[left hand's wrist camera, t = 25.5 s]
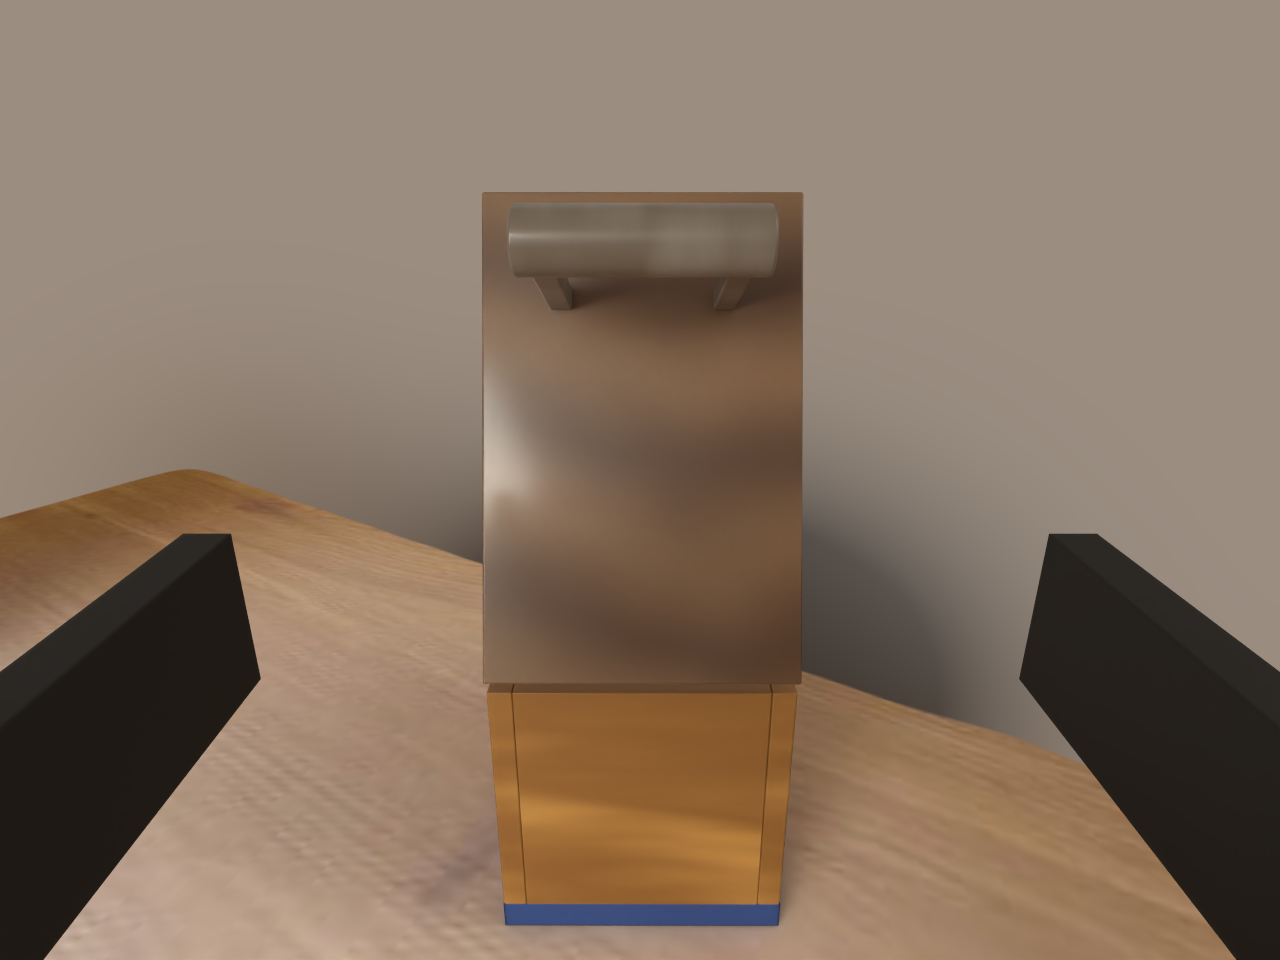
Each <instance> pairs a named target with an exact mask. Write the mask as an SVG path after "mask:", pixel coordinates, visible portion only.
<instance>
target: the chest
mask: <svg viewBox="0 0 1280 960" xmlns="http://www.w3.org/2000/svg"><path fill="white" fill-rule="evenodd" d="M487 701H488V713H489V725H490V737H491V749H492V761H493V773H494V785H495V797H496V809H497V821H498V833H499V845H500V857H501V869H502V881H503V893H504V913H505V925H776V926H778V923H779V912H780V890H781V879H782V867H783V855H784V844H785V832H786V820H787V809H788V797H789V786H790V774H791V762H792V751H793V739H794V727H795V716H796V704H797V691H796V688H795V685H794V684H490V685H489V688H488V691H487Z"/></svg>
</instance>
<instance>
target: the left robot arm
mask: <svg viewBox="0 0 1280 960" xmlns="http://www.w3.org/2000/svg"><path fill="white" fill-rule="evenodd" d="M260 679H261V678H260V673H259V668H258V663H257V658H256V653H255V649H254V644H253V639H252V634H251V629H250V624H249V619H248V615H247V610H246V605H245V600H244V595H243V590H242V585H241V581H240V576H239V571H238V566H237V561H236V556H235V552H234V547H233V542H232V537H231V534H182V535H181V536H180V537H178V538H177V539H176V540H174V541H173V542H172V543H170V544H169V545H168V546H166V547H165V548H164V549H162V550H161V551H160V552H158V553H157V554H156V555H154V556H153V557H152V558H150V559H149V560H148V561H146V562H145V563H144V564H142V565H141V566H140V567H138V568H137V569H136V570H135V571H133V572H132V573H131V574H129V575H128V576H127V577H125V578H124V579H123V580H121V581H120V582H119V583H117V584H116V585H115V586H113V587H112V588H111V589H109V590H108V591H107V592H105V593H104V594H103V595H101V596H100V597H99V598H97V599H96V600H95V601H93V602H92V603H91V604H89V605H88V606H87V607H86V608H84V609H83V610H82V611H80V612H79V613H78V614H76V615H75V616H74V617H72V618H71V619H70V620H68V621H67V622H66V623H64V624H63V625H62V626H60V627H59V628H58V629H56V630H55V631H54V632H52V633H51V634H50V635H48V636H47V637H46V638H44V639H43V640H42V641H41V642H39V643H38V644H37V645H35V646H34V647H33V648H31V649H30V650H29V651H27V652H26V653H25V654H23V655H22V656H21V657H19V658H18V659H17V660H15V661H14V662H13V663H11V664H10V665H9V666H7V667H6V668H5V669H3V670H2V671H1V672H0V960H44V958H45V957H46V956H47V955H48V953H49V952H50V951H51V949H52V948H53V947H54V945H55V944H56V943H57V942H58V940H59V939H60V938H61V936H62V935H63V934H64V933H65V931H66V930H67V929H68V927H69V926H70V925H71V924H72V922H73V921H74V920H75V918H76V917H77V916H78V914H79V913H80V912H81V911H82V909H83V908H84V907H85V905H86V904H87V903H88V902H89V900H90V899H91V898H92V896H93V895H94V894H95V892H96V891H97V890H98V889H99V887H100V886H101V885H102V883H103V882H104V881H105V880H106V878H107V877H108V876H109V874H110V873H111V872H112V871H113V869H114V868H115V867H116V865H117V864H118V863H119V861H120V860H121V859H122V858H123V856H124V855H125V854H126V852H127V851H128V850H129V849H130V847H131V846H132V845H133V843H134V842H135V841H136V840H137V838H138V837H139V836H140V834H141V833H142V832H143V830H144V829H145V828H146V827H147V825H148V824H149V823H150V821H151V820H152V819H153V818H154V816H155V815H156V814H157V812H158V811H159V810H160V808H161V807H162V806H163V805H164V803H165V802H166V801H167V799H168V798H169V797H170V796H171V794H172V793H173V792H174V790H175V789H176V788H177V787H178V785H179V784H180V783H181V781H182V780H183V779H184V777H185V776H186V775H187V774H188V772H189V771H190V770H191V768H192V767H193V766H194V765H195V763H196V762H197V761H198V759H199V758H200V757H201V755H202V754H203V753H204V752H205V750H206V749H207V748H208V746H209V745H210V744H211V743H212V741H213V740H214V739H215V737H216V736H217V735H218V734H219V732H220V731H221V730H222V728H223V727H224V726H225V724H226V723H227V722H228V721H229V719H230V718H231V717H232V715H233V714H234V713H235V712H236V710H237V709H238V708H239V706H240V705H241V704H242V703H243V701H244V700H245V699H246V697H247V696H248V695H249V693H250V692H251V691H252V690H253V688H254V687H255V686H256V684H257V683H258V682H259V681H260ZM1019 679H1020V681H1021V682H1022V683H1023V684H1024V686H1025V687H1026V688H1027V690H1028V691H1029V692H1030V693H1031V695H1032V696H1033V697H1034V699H1035V700H1036V701H1037V703H1038V704H1039V705H1040V706H1041V708H1042V709H1043V710H1044V712H1045V713H1046V714H1047V715H1048V717H1049V718H1050V719H1051V721H1052V722H1053V723H1054V724H1055V726H1056V727H1057V728H1058V730H1059V731H1060V732H1061V734H1062V735H1063V736H1064V737H1065V739H1066V740H1067V741H1068V742H1069V744H1070V745H1071V746H1072V748H1073V749H1074V750H1075V751H1076V753H1077V754H1078V755H1079V757H1080V758H1081V759H1082V761H1083V762H1084V763H1085V765H1086V766H1087V767H1088V768H1089V770H1090V771H1091V772H1092V774H1093V775H1094V776H1095V777H1096V779H1097V780H1098V781H1099V783H1100V784H1101V785H1102V787H1103V788H1104V789H1105V790H1106V792H1107V793H1108V794H1109V796H1110V797H1111V798H1112V799H1113V801H1114V802H1115V803H1116V805H1117V806H1118V807H1119V808H1120V810H1121V811H1122V812H1123V814H1124V815H1125V816H1126V818H1127V819H1128V820H1129V821H1130V823H1131V824H1132V825H1133V827H1134V828H1135V829H1136V830H1137V832H1138V833H1139V834H1140V836H1141V837H1142V838H1143V840H1144V841H1145V842H1146V843H1147V845H1148V846H1149V847H1150V849H1151V850H1152V851H1153V852H1154V854H1155V855H1156V856H1157V858H1158V859H1159V860H1160V861H1161V863H1162V864H1163V865H1164V867H1165V868H1166V869H1167V871H1168V872H1169V873H1170V874H1171V876H1172V877H1173V878H1174V880H1175V881H1176V882H1177V883H1178V885H1179V886H1180V887H1181V889H1182V890H1183V891H1184V892H1185V894H1186V895H1187V896H1188V898H1189V899H1190V900H1191V902H1192V903H1193V904H1194V905H1195V907H1196V908H1197V909H1198V911H1199V912H1200V913H1201V914H1202V916H1203V917H1204V918H1205V920H1206V921H1207V922H1208V924H1209V925H1210V926H1211V927H1212V929H1213V930H1214V931H1215V933H1216V934H1217V935H1218V936H1219V938H1220V939H1221V940H1222V942H1223V943H1224V944H1225V945H1226V947H1227V948H1228V949H1229V951H1230V952H1231V953H1232V955H1233V956H1234V957H1235V958H1236V960H1280V672H1279V671H1278V670H1277V669H1275V668H1274V667H1273V666H1271V665H1270V664H1269V663H1267V662H1266V661H1265V660H1263V659H1262V658H1261V657H1259V656H1258V655H1257V654H1255V653H1254V652H1253V651H1251V650H1250V649H1249V648H1247V647H1246V646H1245V645H1243V644H1242V643H1241V642H1239V641H1238V640H1237V639H1236V638H1234V637H1233V636H1232V635H1230V634H1229V633H1228V632H1226V631H1225V630H1224V629H1222V628H1221V627H1220V626H1218V625H1217V624H1216V623H1214V622H1213V621H1212V620H1210V619H1209V618H1208V617H1206V616H1205V615H1204V614H1202V613H1201V612H1200V611H1198V610H1197V609H1196V608H1194V607H1193V606H1192V605H1191V604H1189V603H1188V602H1187V601H1185V600H1184V599H1183V598H1181V597H1180V596H1179V595H1177V594H1176V593H1175V592H1173V591H1172V590H1170V589H1169V588H1168V587H1167V586H1165V585H1164V584H1163V583H1161V582H1160V581H1159V580H1157V579H1156V578H1155V577H1153V576H1152V575H1151V574H1149V573H1148V572H1147V571H1145V570H1144V569H1143V568H1142V567H1140V566H1139V565H1137V564H1136V563H1135V562H1134V561H1132V560H1131V559H1130V558H1128V557H1127V556H1126V555H1124V554H1123V553H1122V552H1120V551H1119V550H1118V549H1116V548H1115V547H1114V546H1112V545H1111V544H1110V543H1108V542H1107V541H1106V540H1104V539H1103V538H1102V537H1100V536H1099V535H1098V534H1049V537H1048V542H1047V547H1046V552H1045V556H1044V561H1043V566H1042V571H1041V576H1040V581H1039V586H1038V591H1037V595H1036V600H1035V605H1034V610H1033V615H1032V620H1031V624H1030V629H1029V634H1028V639H1027V644H1026V649H1025V653H1024V658H1023V663H1022V668H1021V673H1020V678H1019Z"/></svg>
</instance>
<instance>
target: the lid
mask: <svg viewBox="0 0 1280 960" xmlns="http://www.w3.org/2000/svg"><path fill="white" fill-rule="evenodd" d="M802 387H803V193H802V192H484V193H482V390H483V391H482V394H483V683H484V684H801V655H802V394H803V388H802Z"/></svg>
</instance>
